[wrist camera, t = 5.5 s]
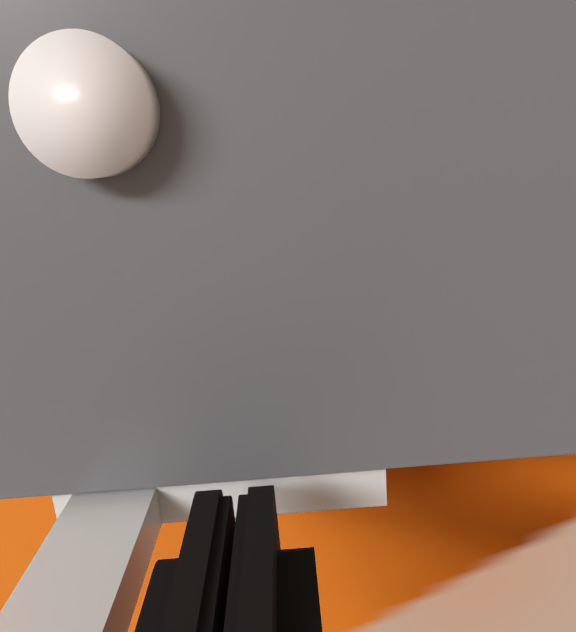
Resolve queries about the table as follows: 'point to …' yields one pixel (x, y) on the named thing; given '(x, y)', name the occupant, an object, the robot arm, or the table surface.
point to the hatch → (141, 545)
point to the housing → (283, 238)
